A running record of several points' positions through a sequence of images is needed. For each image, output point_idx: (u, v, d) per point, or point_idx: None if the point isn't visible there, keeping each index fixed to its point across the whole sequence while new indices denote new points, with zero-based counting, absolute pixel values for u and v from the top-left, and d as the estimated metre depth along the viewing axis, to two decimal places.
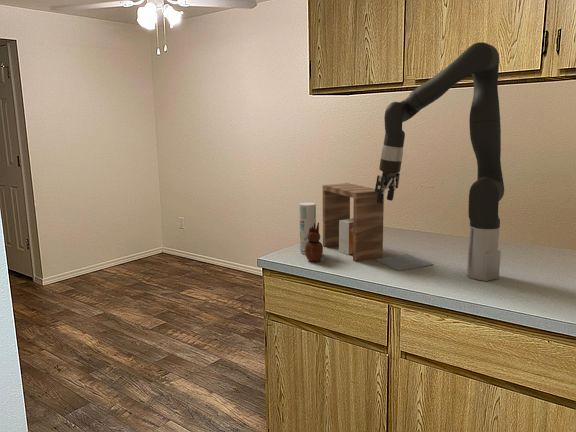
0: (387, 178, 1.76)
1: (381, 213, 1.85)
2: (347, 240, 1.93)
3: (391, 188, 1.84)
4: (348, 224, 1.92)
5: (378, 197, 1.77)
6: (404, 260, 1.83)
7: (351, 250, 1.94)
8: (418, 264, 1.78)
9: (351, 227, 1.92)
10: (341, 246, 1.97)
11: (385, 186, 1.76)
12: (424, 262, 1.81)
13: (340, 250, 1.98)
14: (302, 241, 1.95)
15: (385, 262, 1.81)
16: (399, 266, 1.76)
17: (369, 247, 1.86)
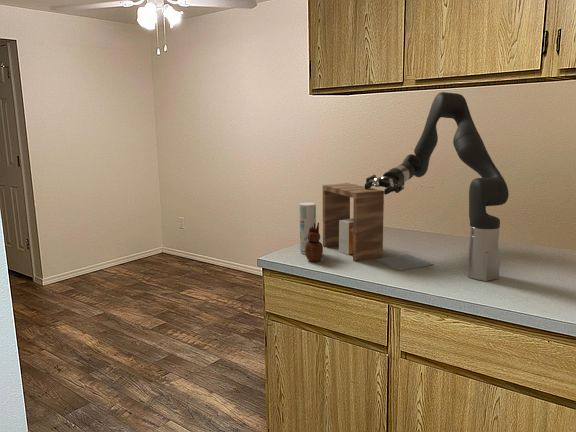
0: None
1: (381, 213, 1.85)
2: (347, 240, 1.93)
3: None
4: (348, 224, 1.92)
5: None
6: (404, 260, 1.83)
7: (351, 250, 1.94)
8: (418, 264, 1.78)
9: (351, 227, 1.92)
10: (341, 246, 1.97)
11: None
12: (424, 262, 1.81)
13: (340, 250, 1.98)
14: (302, 241, 1.95)
15: (385, 262, 1.81)
16: (399, 266, 1.76)
17: (369, 247, 1.86)
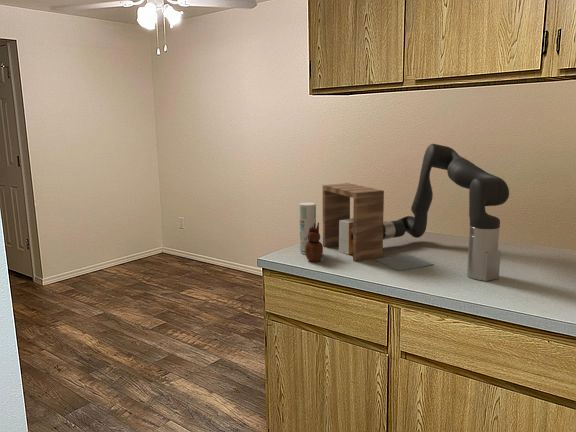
0: None
1: (381, 213, 1.85)
2: (347, 240, 1.93)
3: None
4: (348, 224, 1.92)
5: None
6: (404, 260, 1.83)
7: (351, 250, 1.94)
8: (418, 264, 1.78)
9: (351, 227, 1.92)
10: (341, 246, 1.97)
11: None
12: (424, 262, 1.81)
13: (340, 250, 1.98)
14: (302, 241, 1.95)
15: (385, 262, 1.81)
16: (399, 266, 1.76)
17: (369, 247, 1.86)
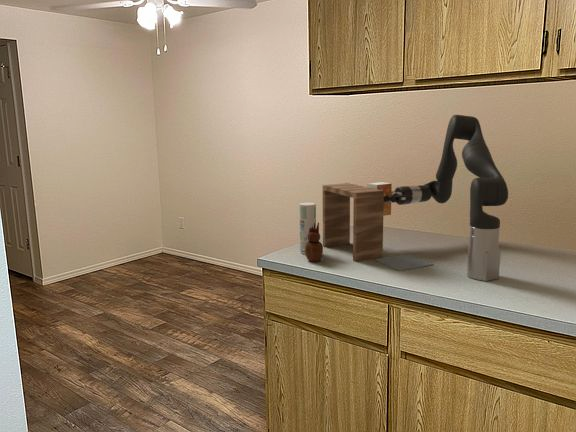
0: None
1: (381, 213, 1.85)
2: None
3: None
4: (376, 186, 1.94)
5: None
6: (404, 260, 1.83)
7: None
8: (418, 264, 1.78)
9: (379, 189, 1.95)
10: None
11: None
12: (424, 262, 1.81)
13: None
14: (302, 241, 1.95)
15: (385, 262, 1.81)
16: (399, 266, 1.76)
17: (369, 247, 1.86)
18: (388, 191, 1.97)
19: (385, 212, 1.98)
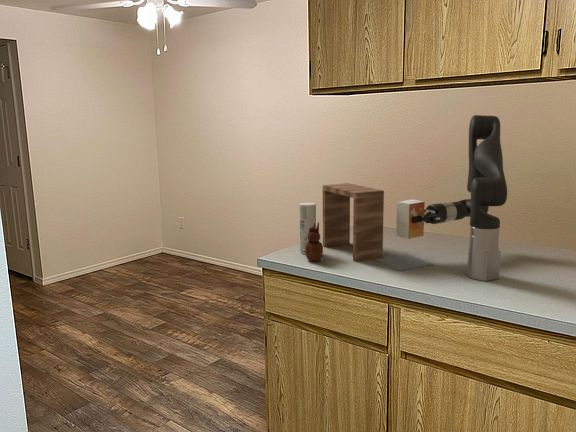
0: None
1: (381, 213, 1.85)
2: (406, 223, 1.77)
3: None
4: (408, 205, 1.75)
5: None
6: (404, 260, 1.83)
7: (411, 234, 1.77)
8: (418, 264, 1.78)
9: (411, 209, 1.75)
10: (399, 230, 1.80)
11: None
12: (424, 262, 1.81)
13: (398, 234, 1.81)
14: (302, 241, 1.95)
15: (385, 262, 1.81)
16: (399, 266, 1.76)
17: (369, 247, 1.86)
18: (421, 210, 1.78)
19: (417, 233, 1.79)
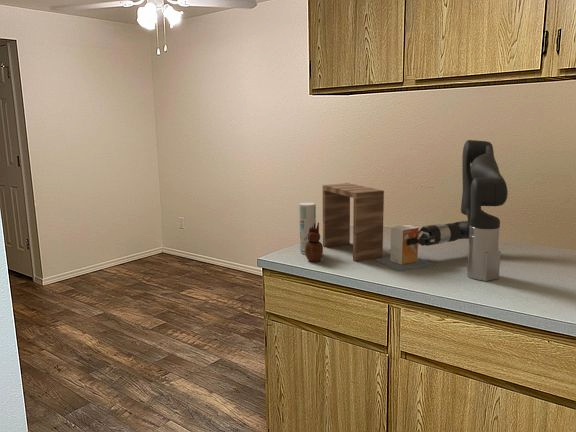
0: None
1: (381, 213, 1.85)
2: (400, 249, 1.77)
3: None
4: (402, 232, 1.76)
5: None
6: None
7: (404, 260, 1.78)
8: (418, 264, 1.78)
9: (405, 235, 1.76)
10: (393, 255, 1.81)
11: None
12: (424, 262, 1.81)
13: (392, 259, 1.82)
14: (302, 241, 1.95)
15: (385, 262, 1.81)
16: (399, 266, 1.76)
17: (369, 247, 1.86)
18: (415, 236, 1.79)
19: (411, 259, 1.80)
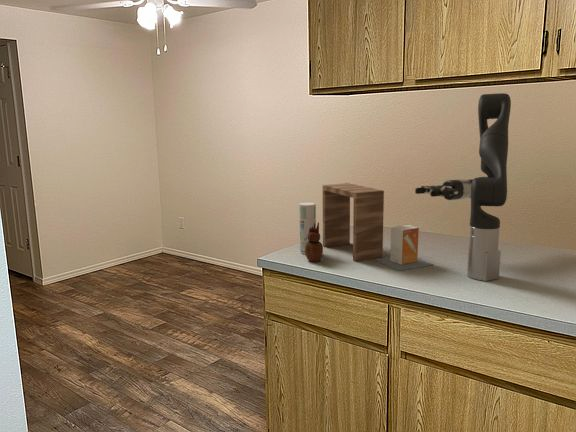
0: None
1: (381, 213, 1.85)
2: (400, 249, 1.77)
3: None
4: (402, 232, 1.76)
5: None
6: None
7: (404, 260, 1.78)
8: (418, 264, 1.78)
9: (405, 235, 1.76)
10: (393, 255, 1.81)
11: None
12: (424, 262, 1.81)
13: (392, 259, 1.82)
14: (302, 241, 1.95)
15: (385, 262, 1.81)
16: (399, 266, 1.76)
17: (369, 247, 1.86)
18: (415, 236, 1.79)
19: (411, 259, 1.80)
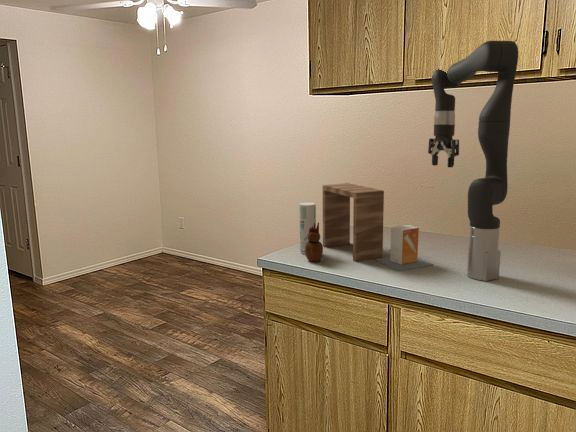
0: (435, 141, 1.89)
1: (381, 213, 1.85)
2: (400, 249, 1.77)
3: None
4: (402, 232, 1.76)
5: None
6: None
7: (404, 260, 1.78)
8: (418, 264, 1.78)
9: (405, 235, 1.76)
10: (393, 255, 1.81)
11: None
12: (424, 262, 1.81)
13: (392, 259, 1.82)
14: (302, 241, 1.95)
15: (385, 262, 1.81)
16: (399, 266, 1.76)
17: (369, 247, 1.86)
18: (415, 236, 1.79)
19: (411, 259, 1.80)
